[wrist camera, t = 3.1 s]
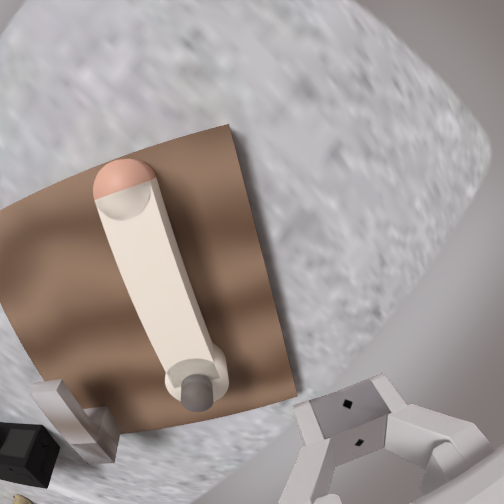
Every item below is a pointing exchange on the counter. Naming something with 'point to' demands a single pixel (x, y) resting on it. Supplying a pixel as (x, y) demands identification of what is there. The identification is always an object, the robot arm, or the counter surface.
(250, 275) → the pivot base
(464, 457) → the robot arm
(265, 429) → the counter surface
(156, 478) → the counter surface
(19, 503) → the small jar
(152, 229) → the link
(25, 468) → the digital camera
